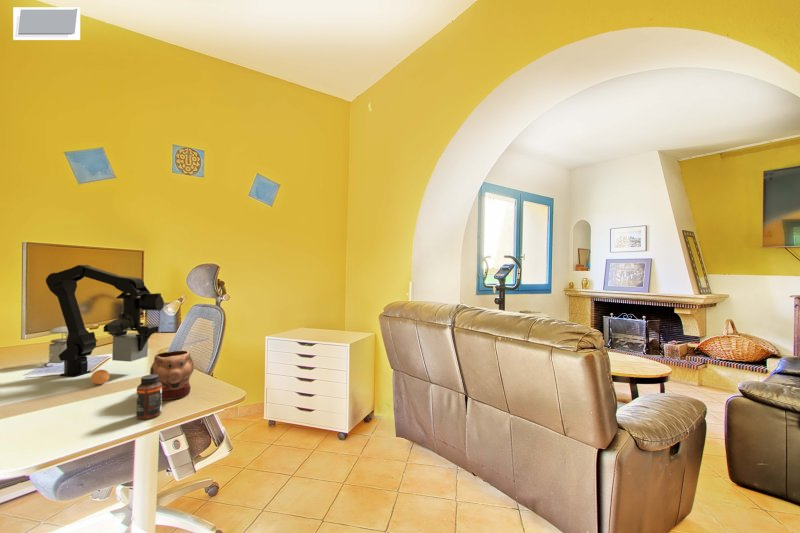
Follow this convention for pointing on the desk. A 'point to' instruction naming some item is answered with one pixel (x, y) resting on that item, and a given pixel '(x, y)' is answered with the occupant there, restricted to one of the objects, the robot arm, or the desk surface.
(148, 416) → the supplement bottle
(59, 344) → the french press
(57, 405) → the desk surface
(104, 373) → the brown egg
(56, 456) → the desk surface
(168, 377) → the decorative planter
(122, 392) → the desk surface
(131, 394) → the desk surface
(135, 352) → the gray cube
